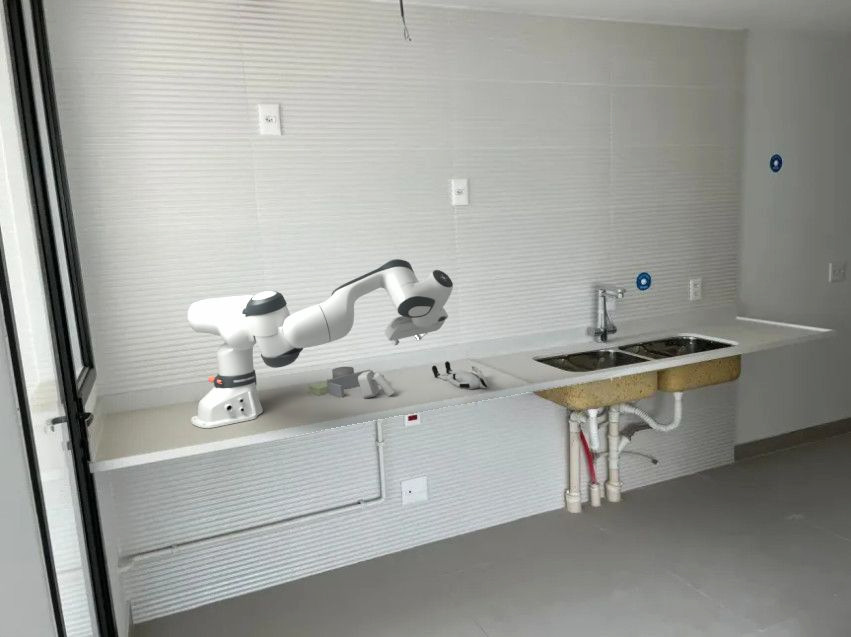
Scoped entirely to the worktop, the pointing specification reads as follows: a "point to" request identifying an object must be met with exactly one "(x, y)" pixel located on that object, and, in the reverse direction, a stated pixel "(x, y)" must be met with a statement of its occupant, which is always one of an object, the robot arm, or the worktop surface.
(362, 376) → the wall hook
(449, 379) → the figurine
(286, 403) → the worktop surface
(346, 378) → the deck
